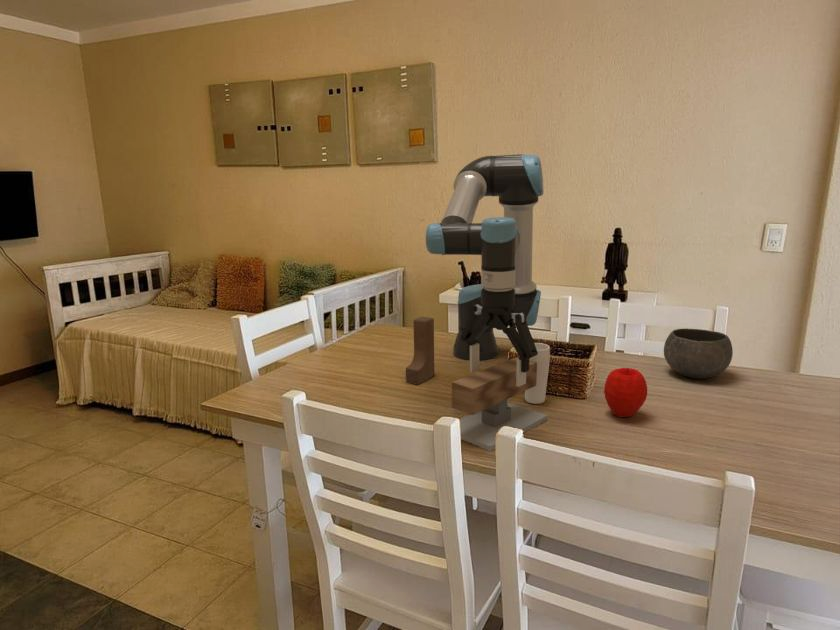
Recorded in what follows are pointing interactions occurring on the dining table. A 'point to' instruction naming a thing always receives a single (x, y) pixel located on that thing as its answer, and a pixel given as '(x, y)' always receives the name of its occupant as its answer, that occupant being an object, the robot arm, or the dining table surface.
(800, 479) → the dining table surface
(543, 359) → the drinking glass
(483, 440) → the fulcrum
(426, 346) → the wooden block
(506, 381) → the beam
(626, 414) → the apple
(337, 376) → the dining table surface
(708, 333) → the bowl
